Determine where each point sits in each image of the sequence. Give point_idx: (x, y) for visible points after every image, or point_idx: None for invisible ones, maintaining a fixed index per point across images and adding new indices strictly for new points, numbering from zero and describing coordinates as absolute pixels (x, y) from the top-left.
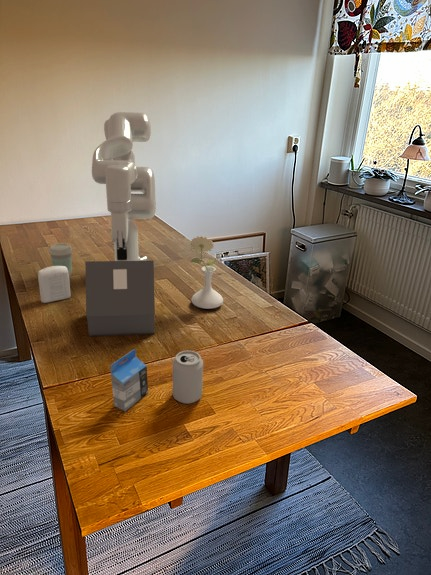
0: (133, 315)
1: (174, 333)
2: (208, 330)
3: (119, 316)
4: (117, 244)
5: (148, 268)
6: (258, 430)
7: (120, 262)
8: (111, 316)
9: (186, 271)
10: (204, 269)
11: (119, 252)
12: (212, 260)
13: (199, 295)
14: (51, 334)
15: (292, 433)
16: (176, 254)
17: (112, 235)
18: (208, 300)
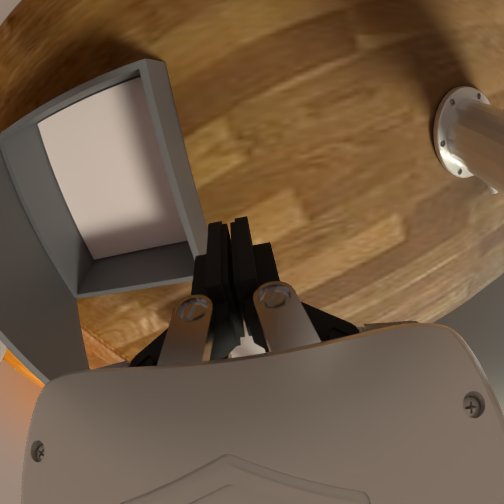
0: (49, 254)
1: (113, 295)
2: (148, 340)
3: (31, 220)
4: (164, 354)
5: None
6: (13, 359)
7: (6, 339)
8: (22, 199)
9: (428, 274)
10: None
11: (193, 288)
12: None
13: (246, 347)
14: (32, 26)
15: (27, 375)
16: (499, 241)
17: (25, 463)
18: (232, 356)
